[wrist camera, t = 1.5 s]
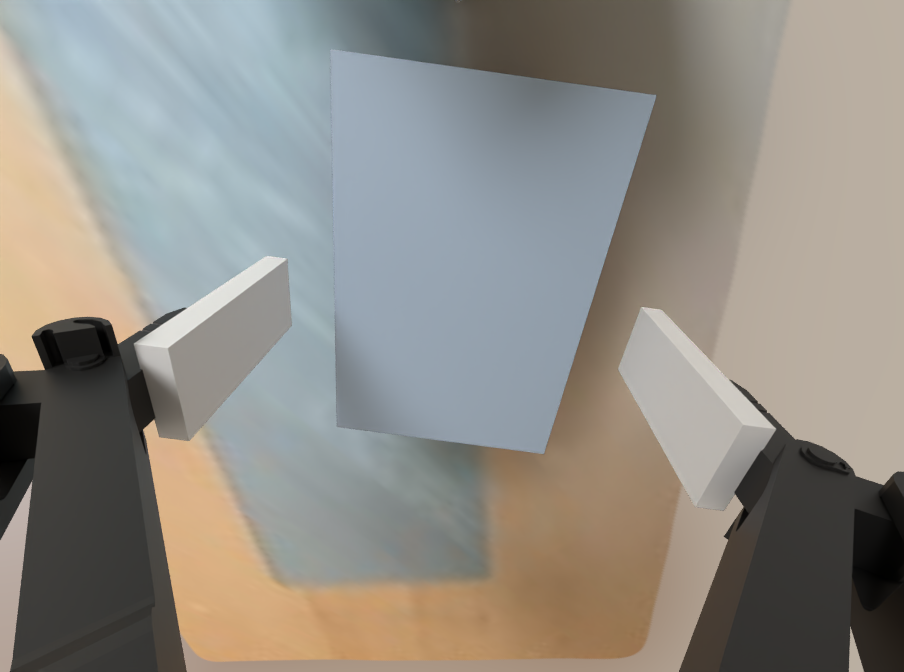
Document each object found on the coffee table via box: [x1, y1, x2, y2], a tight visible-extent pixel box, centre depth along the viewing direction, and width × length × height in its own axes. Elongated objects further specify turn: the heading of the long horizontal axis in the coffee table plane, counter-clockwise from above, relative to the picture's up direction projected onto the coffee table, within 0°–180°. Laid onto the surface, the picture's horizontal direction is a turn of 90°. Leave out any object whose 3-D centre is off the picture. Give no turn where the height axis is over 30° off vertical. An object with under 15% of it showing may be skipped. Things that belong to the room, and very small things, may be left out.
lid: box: [330, 49, 657, 454], centre depth 18 cm, size 15×10×3 cm, turn 173°
